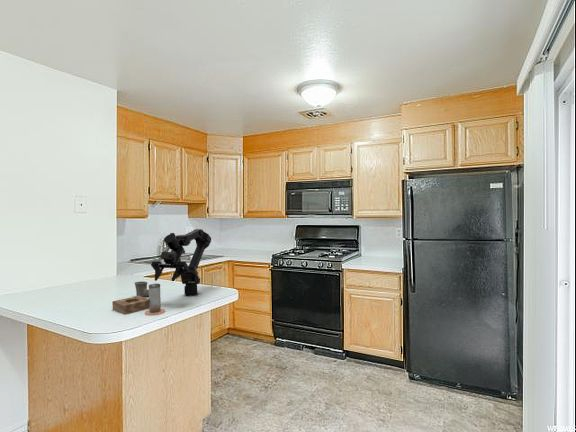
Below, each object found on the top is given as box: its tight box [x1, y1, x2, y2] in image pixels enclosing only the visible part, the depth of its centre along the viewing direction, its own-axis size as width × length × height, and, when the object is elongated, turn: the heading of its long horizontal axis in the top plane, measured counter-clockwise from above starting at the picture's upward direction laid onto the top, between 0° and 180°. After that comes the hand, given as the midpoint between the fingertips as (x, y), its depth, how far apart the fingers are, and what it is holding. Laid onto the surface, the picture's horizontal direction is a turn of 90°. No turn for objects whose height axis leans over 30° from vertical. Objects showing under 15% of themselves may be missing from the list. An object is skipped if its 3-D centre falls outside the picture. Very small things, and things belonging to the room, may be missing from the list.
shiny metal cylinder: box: [148, 283, 162, 313], centre depth 160 cm, size 5×5×12 cm
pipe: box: [134, 281, 149, 298], centre depth 191 cm, size 6×13×8 cm, turn 77°
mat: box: [144, 308, 166, 316], centre depth 160 cm, size 9×9×1 cm
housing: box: [112, 295, 149, 315], centre depth 167 cm, size 13×13×4 cm
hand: (163, 280), depth 167 cm, fingers open, 9 cm apart
